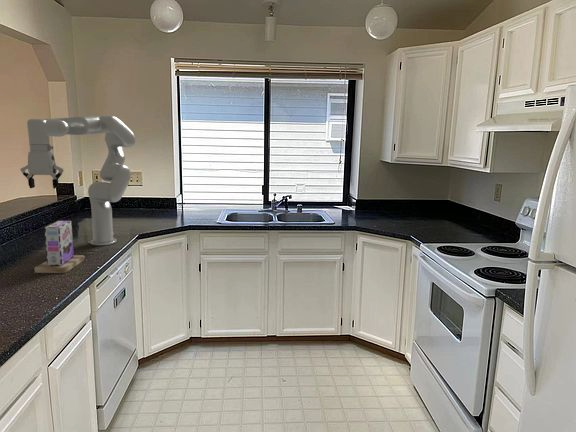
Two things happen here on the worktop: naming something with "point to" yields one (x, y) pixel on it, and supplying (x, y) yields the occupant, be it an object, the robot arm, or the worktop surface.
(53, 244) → the candy box
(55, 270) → the cutting board
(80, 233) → the worktop surface
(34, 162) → the robot arm
